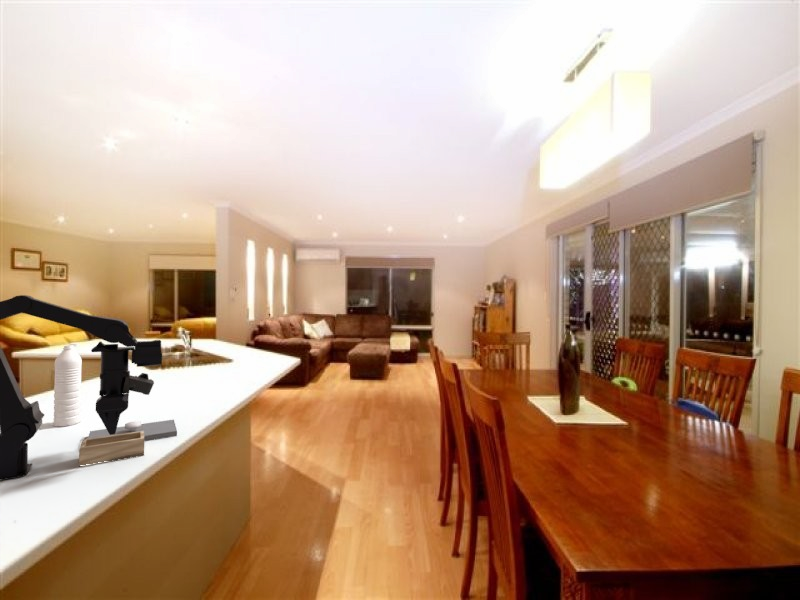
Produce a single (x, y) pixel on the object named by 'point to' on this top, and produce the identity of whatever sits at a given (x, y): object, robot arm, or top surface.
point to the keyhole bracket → (111, 448)
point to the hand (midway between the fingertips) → (113, 428)
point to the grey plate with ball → (150, 430)
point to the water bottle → (67, 387)
